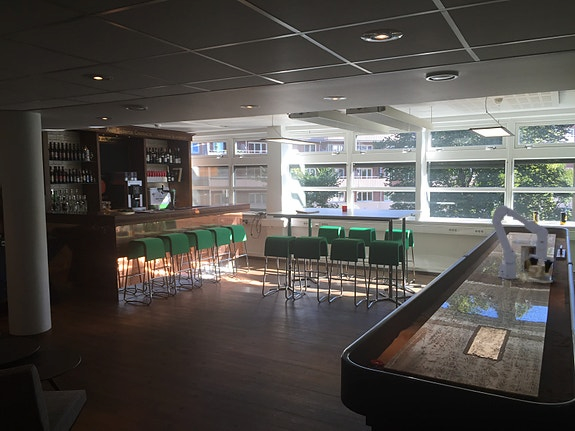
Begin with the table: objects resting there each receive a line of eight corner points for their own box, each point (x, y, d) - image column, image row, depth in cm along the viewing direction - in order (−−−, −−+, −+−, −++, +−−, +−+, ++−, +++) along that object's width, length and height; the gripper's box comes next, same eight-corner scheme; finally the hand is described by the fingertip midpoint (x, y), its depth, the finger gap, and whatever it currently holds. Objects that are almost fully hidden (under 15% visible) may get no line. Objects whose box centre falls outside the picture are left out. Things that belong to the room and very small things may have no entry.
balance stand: (543, 283, 261) (543, 277, 261) (527, 279, 270) (528, 274, 270) (552, 281, 265) (552, 276, 264) (536, 278, 274) (536, 273, 273)
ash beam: (534, 277, 262) (534, 267, 262) (528, 276, 265) (529, 266, 265) (551, 275, 269) (552, 265, 269) (546, 274, 272) (546, 264, 272)
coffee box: (533, 269, 302) (535, 245, 301) (538, 271, 296) (539, 247, 295) (519, 269, 303) (520, 245, 302) (523, 271, 297) (524, 246, 296)
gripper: (558, 250, 261) (556, 273, 262) (534, 246, 274) (533, 269, 275) (550, 250, 258) (549, 274, 259) (526, 247, 271) (525, 269, 272)
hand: (540, 271), depth 267 cm, fingers open, 7 cm apart
